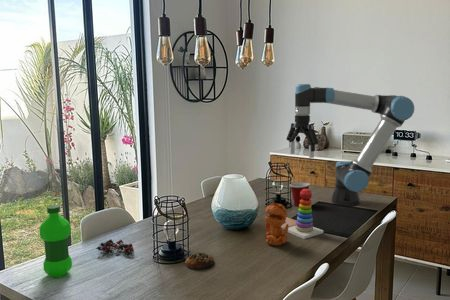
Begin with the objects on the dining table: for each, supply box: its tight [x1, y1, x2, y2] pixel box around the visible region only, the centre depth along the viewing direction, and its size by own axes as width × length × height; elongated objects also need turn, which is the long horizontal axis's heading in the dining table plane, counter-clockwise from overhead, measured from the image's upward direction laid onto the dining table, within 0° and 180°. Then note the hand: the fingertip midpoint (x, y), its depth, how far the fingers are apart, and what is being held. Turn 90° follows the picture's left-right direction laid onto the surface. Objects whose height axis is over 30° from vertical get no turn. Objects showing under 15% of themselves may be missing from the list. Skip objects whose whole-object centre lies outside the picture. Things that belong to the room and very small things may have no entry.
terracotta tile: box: [264, 216, 297, 231], centre depth 205 cm, size 12×12×1 cm
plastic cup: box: [289, 182, 311, 208], centre depth 235 cm, size 11×11×12 cm
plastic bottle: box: [39, 204, 73, 278], centre depth 153 cm, size 10×10×25 cm
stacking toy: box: [295, 188, 314, 232], centre depth 193 cm, size 8×8×19 cm
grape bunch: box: [95, 238, 135, 256], centre depth 175 cm, size 15×14×5 cm
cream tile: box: [287, 226, 324, 240], centre depth 195 cm, size 12×12×1 cm
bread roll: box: [184, 251, 215, 270], centre depth 163 cm, size 11×11×5 cm
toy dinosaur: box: [263, 201, 289, 246], centre depth 181 cm, size 11×11×18 cm
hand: (301, 155), depth 223 cm, fingers open, 13 cm apart
